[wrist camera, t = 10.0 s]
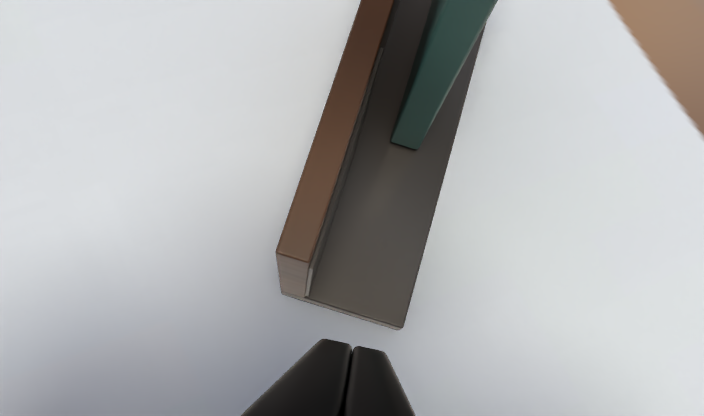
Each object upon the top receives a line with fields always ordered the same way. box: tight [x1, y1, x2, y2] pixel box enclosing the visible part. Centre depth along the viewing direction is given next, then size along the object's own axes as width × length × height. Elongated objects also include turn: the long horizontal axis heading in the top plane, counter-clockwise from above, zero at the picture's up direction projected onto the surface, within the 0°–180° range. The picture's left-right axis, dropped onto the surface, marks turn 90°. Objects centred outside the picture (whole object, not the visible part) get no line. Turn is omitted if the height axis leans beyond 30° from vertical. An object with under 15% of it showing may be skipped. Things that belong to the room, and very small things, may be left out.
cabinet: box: [276, 0, 486, 330], centre depth 19 cm, size 12×4×7 cm, turn 163°
